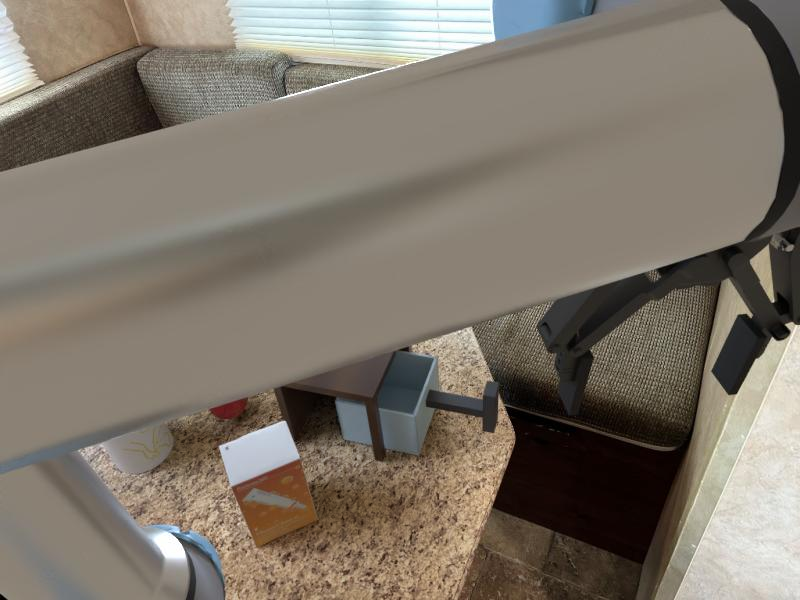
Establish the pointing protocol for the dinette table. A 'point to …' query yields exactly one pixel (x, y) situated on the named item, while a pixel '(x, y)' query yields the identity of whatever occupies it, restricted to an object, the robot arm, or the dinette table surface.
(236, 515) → the dinette table surface
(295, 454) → the small box
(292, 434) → the cabinet
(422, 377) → the drawer
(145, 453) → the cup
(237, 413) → the onion
